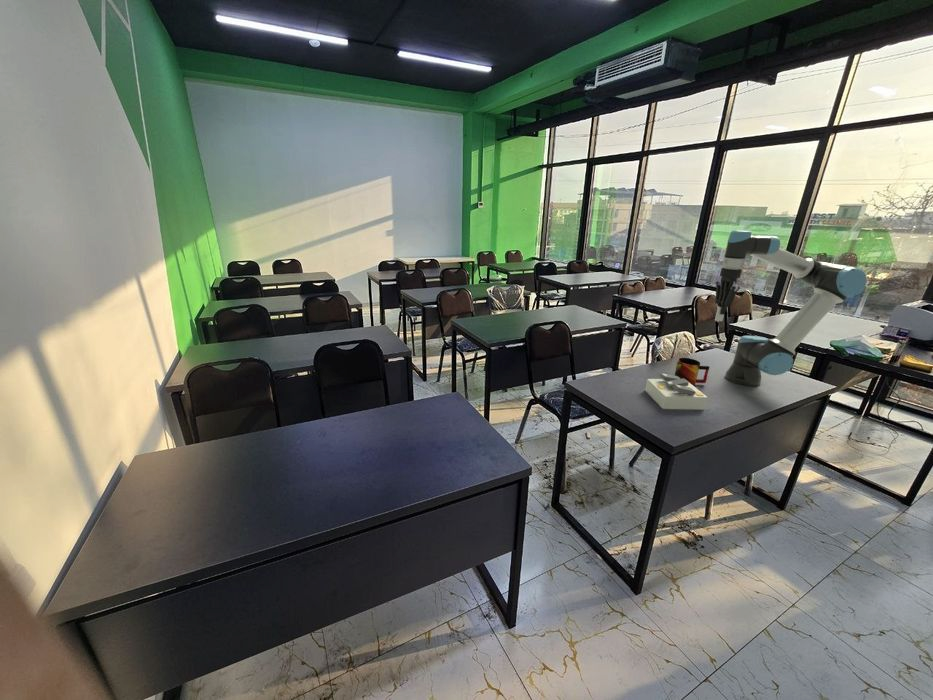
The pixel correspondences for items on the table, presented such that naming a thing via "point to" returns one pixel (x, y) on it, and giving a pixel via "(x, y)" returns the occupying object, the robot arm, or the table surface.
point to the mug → (690, 370)
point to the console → (674, 396)
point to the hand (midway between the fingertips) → (718, 320)
